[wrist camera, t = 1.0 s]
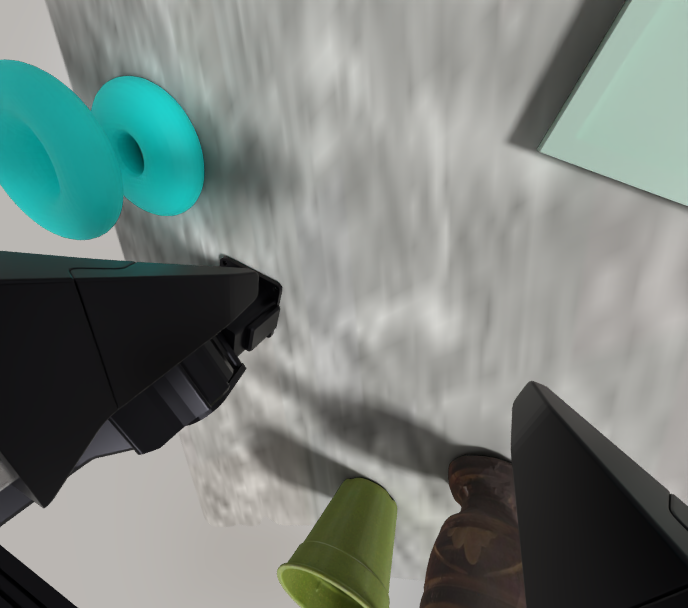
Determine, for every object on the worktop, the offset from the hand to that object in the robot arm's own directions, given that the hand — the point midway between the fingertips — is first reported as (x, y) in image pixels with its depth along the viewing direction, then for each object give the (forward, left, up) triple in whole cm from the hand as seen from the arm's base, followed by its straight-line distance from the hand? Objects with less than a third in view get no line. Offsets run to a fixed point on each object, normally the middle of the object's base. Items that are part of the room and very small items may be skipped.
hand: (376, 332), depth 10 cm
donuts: (-23, -3, -13) cm, 27 cm away
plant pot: (+7, -33, -13) cm, 37 cm away
